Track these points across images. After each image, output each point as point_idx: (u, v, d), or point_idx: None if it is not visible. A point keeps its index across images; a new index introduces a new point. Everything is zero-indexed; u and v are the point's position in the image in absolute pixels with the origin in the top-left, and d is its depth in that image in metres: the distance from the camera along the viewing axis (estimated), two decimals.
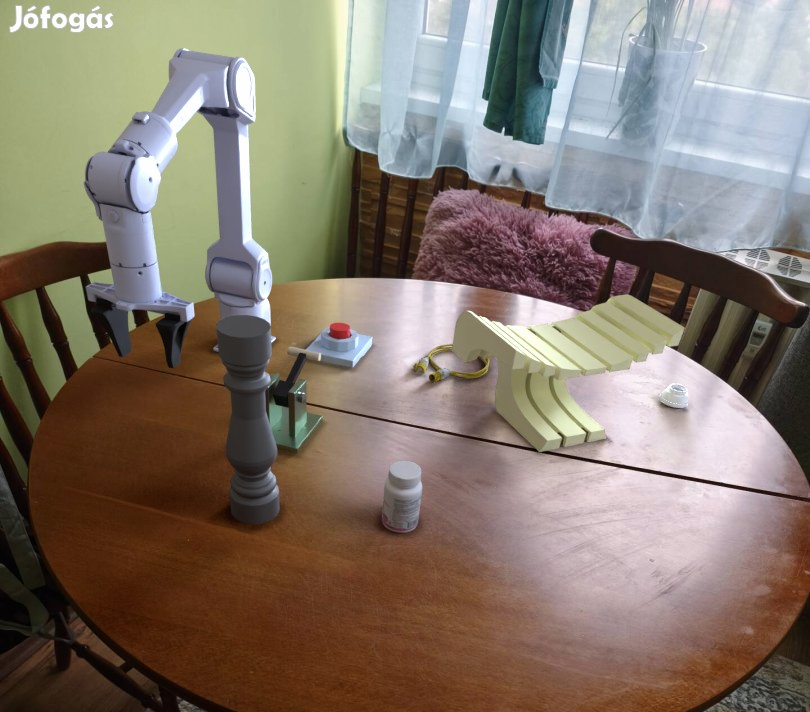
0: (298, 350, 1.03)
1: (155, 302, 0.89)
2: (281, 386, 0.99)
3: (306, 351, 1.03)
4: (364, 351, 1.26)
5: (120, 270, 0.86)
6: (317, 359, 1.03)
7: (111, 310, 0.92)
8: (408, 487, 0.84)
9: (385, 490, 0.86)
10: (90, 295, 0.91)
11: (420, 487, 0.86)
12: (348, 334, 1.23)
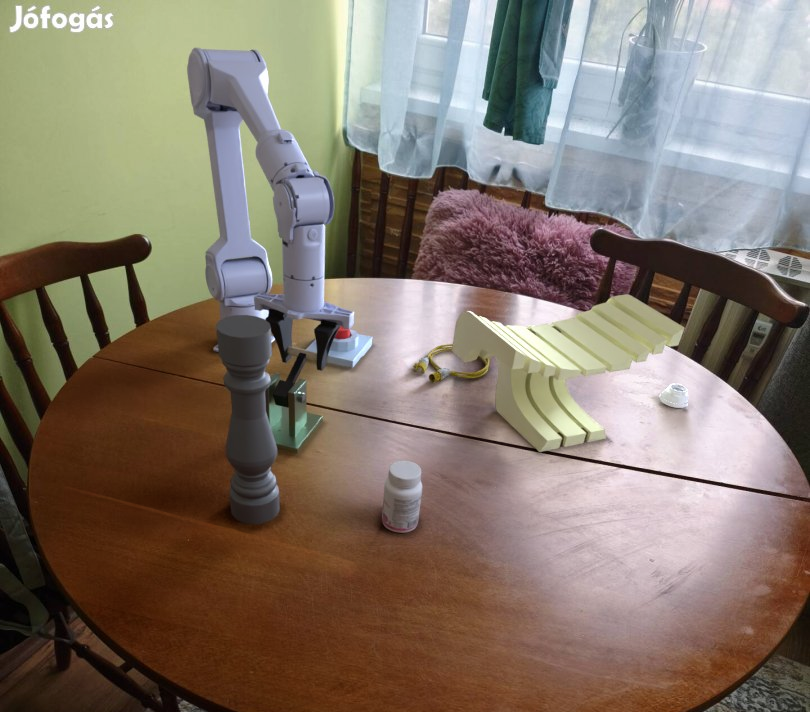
0: (298, 350, 1.03)
1: (320, 311, 0.97)
2: (281, 386, 0.99)
3: (306, 351, 1.03)
4: (364, 351, 1.26)
5: (294, 282, 0.94)
6: None
7: (282, 320, 1.00)
8: (408, 487, 0.84)
9: (385, 490, 0.86)
10: (257, 305, 0.99)
11: (420, 487, 0.86)
12: (348, 334, 1.23)
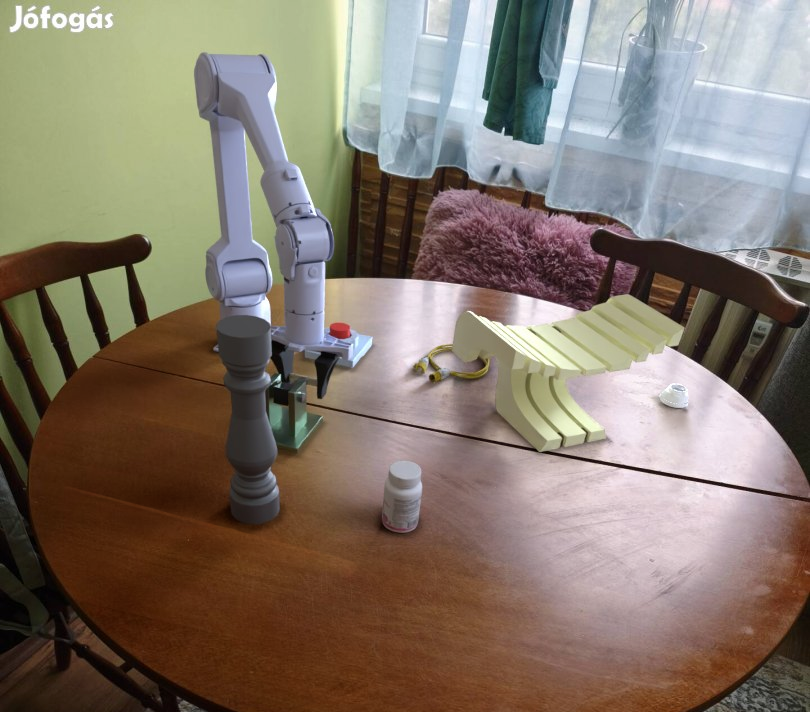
0: (300, 375, 1.06)
1: (320, 343, 1.01)
2: (283, 384, 0.99)
3: None
4: (364, 351, 1.26)
5: (296, 317, 0.97)
6: None
7: (284, 351, 1.03)
8: (408, 487, 0.84)
9: (385, 490, 0.86)
10: None
11: (420, 487, 0.86)
12: (348, 334, 1.23)
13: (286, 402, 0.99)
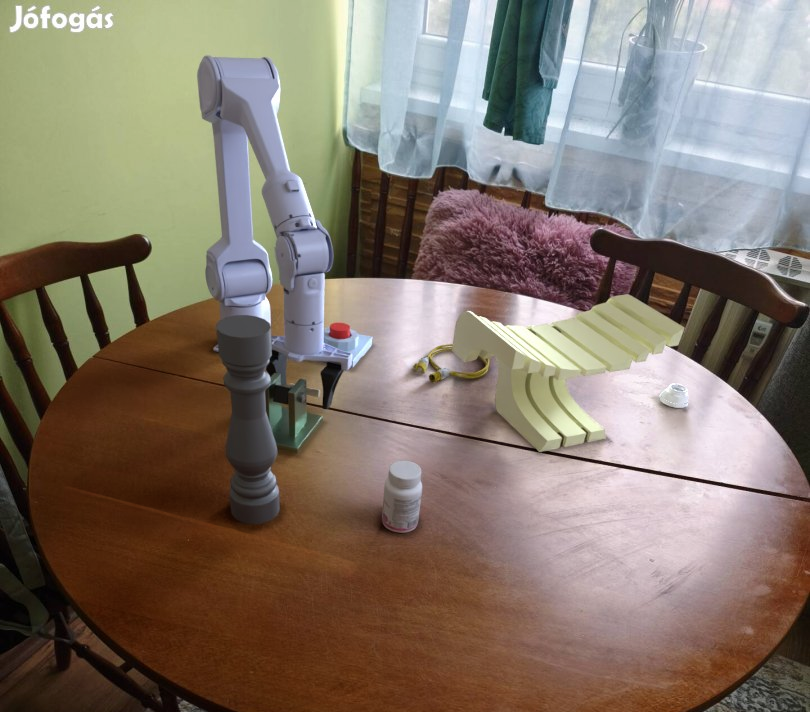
0: None
1: (320, 353, 1.02)
2: (284, 385, 1.00)
3: None
4: (364, 351, 1.26)
5: (295, 327, 0.98)
6: (317, 393, 1.06)
7: (277, 359, 1.04)
8: (408, 487, 0.84)
9: (385, 490, 0.86)
10: None
11: (420, 487, 0.86)
12: (348, 334, 1.23)
13: (286, 400, 0.99)
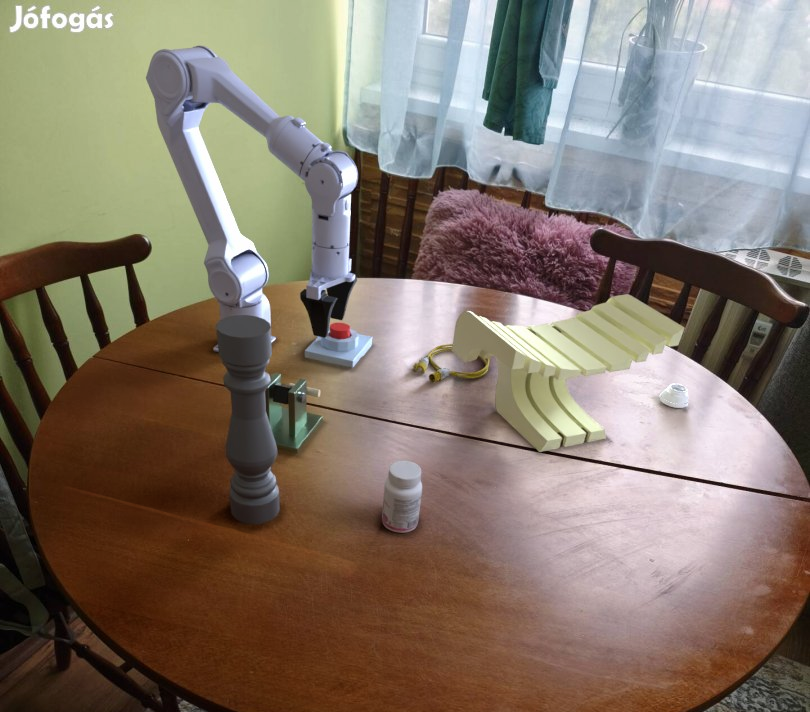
0: None
1: None
2: (284, 385, 1.00)
3: None
4: (364, 351, 1.26)
5: (347, 249, 1.06)
6: (317, 393, 1.06)
7: (326, 296, 1.08)
8: (408, 487, 0.84)
9: (385, 490, 0.86)
10: (319, 294, 1.05)
11: (420, 487, 0.86)
12: (348, 334, 1.23)
13: (286, 400, 0.99)
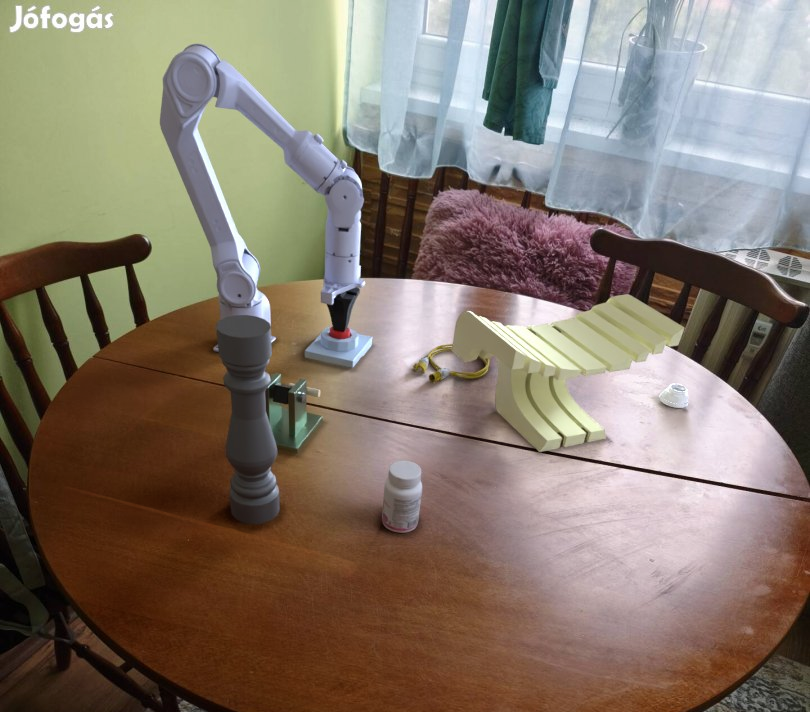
0: None
1: None
2: (284, 385, 1.00)
3: None
4: (364, 351, 1.26)
5: (358, 257, 1.14)
6: (317, 393, 1.06)
7: (346, 294, 1.18)
8: (408, 487, 0.84)
9: (385, 490, 0.86)
10: (333, 299, 1.13)
11: (420, 487, 0.86)
12: (348, 337, 1.23)
13: (286, 400, 0.99)
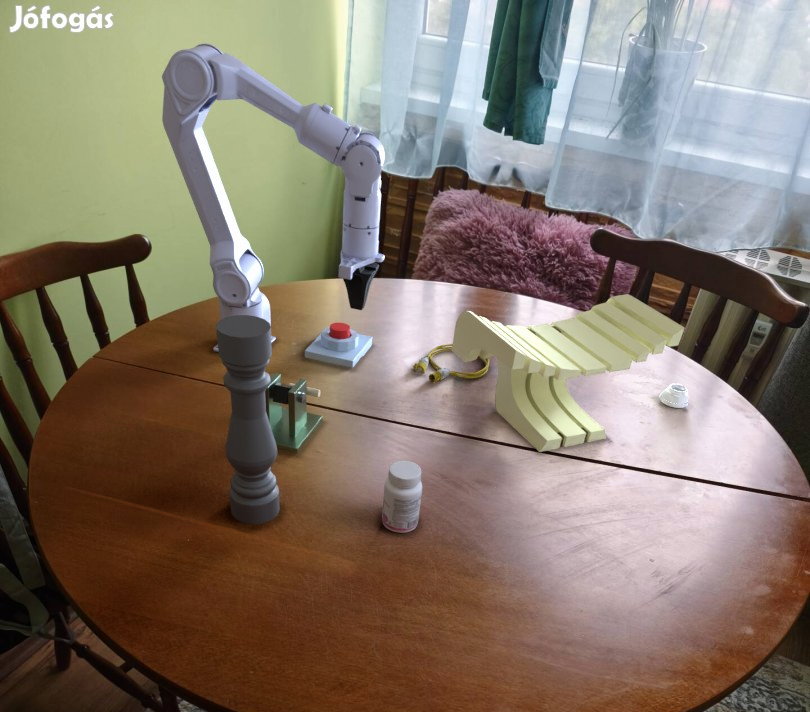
0: None
1: None
2: (284, 385, 1.00)
3: None
4: (364, 351, 1.26)
5: (377, 229, 1.08)
6: (317, 393, 1.06)
7: (364, 270, 1.13)
8: (408, 487, 0.84)
9: (385, 490, 0.86)
10: (351, 273, 1.07)
11: (420, 487, 0.86)
12: (348, 334, 1.23)
13: (286, 400, 0.99)
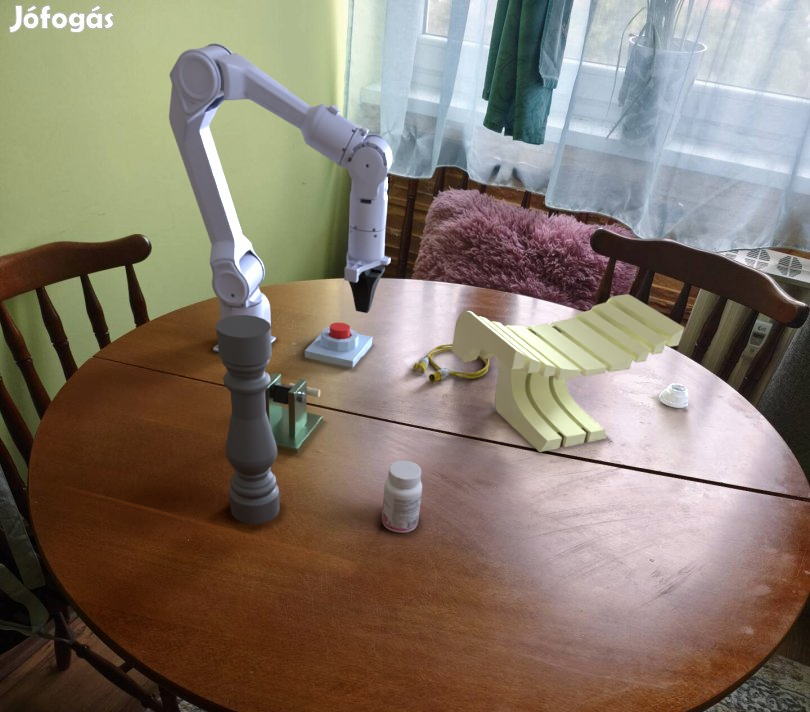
0: None
1: None
2: (284, 385, 1.00)
3: None
4: (364, 351, 1.26)
5: (384, 232, 1.08)
6: (317, 393, 1.06)
7: (370, 272, 1.12)
8: (408, 487, 0.84)
9: (385, 490, 0.86)
10: (357, 276, 1.06)
11: (420, 487, 0.86)
12: (348, 334, 1.23)
13: (286, 400, 0.99)
